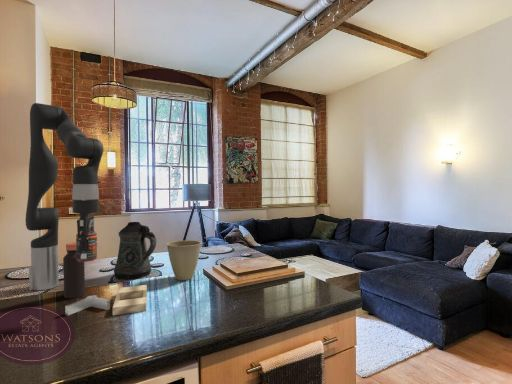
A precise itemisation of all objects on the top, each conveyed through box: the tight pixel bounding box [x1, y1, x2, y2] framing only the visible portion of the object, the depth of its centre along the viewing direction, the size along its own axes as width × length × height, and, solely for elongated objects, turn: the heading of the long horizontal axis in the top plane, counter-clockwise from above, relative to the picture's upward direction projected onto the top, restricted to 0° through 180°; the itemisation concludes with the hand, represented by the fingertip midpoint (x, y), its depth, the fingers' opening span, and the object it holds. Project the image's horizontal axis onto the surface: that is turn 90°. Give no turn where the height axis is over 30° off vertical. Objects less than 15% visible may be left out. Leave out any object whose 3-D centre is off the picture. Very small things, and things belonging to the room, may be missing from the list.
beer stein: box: [113, 221, 157, 281], centre depth 138 cm, size 16×19×25 cm
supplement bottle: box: [75, 225, 98, 263], centre depth 95 cm, size 6×6×11 cm
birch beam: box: [112, 284, 148, 316], centre depth 104 cm, size 10×20×2 cm, turn 20°
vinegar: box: [62, 242, 86, 300], centre depth 111 cm, size 7×7×20 cm
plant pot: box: [166, 239, 202, 281], centre depth 132 cm, size 15×15×16 cm
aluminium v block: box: [64, 294, 111, 316], centre depth 99 cm, size 13×8×3 cm, turn 110°
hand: (86, 249), depth 95 cm, fingers closed on supplement bottle, 6 cm apart
